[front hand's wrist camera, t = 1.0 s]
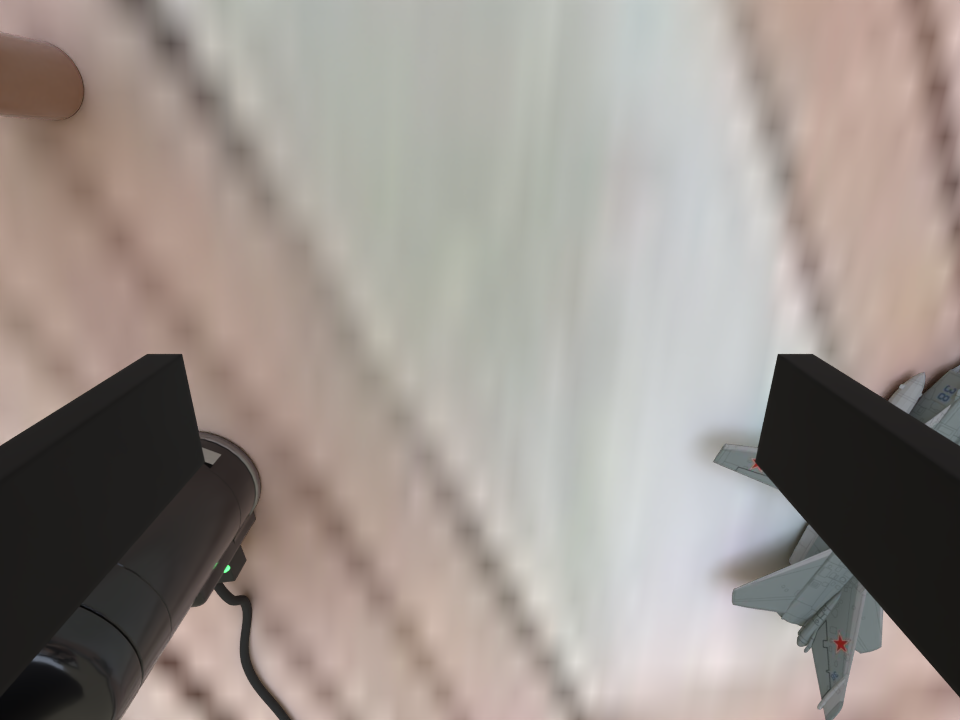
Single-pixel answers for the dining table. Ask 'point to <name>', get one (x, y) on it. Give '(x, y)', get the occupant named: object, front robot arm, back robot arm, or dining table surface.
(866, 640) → the airplane
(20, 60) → the bottle
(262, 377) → the dining table surface
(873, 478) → the front robot arm
